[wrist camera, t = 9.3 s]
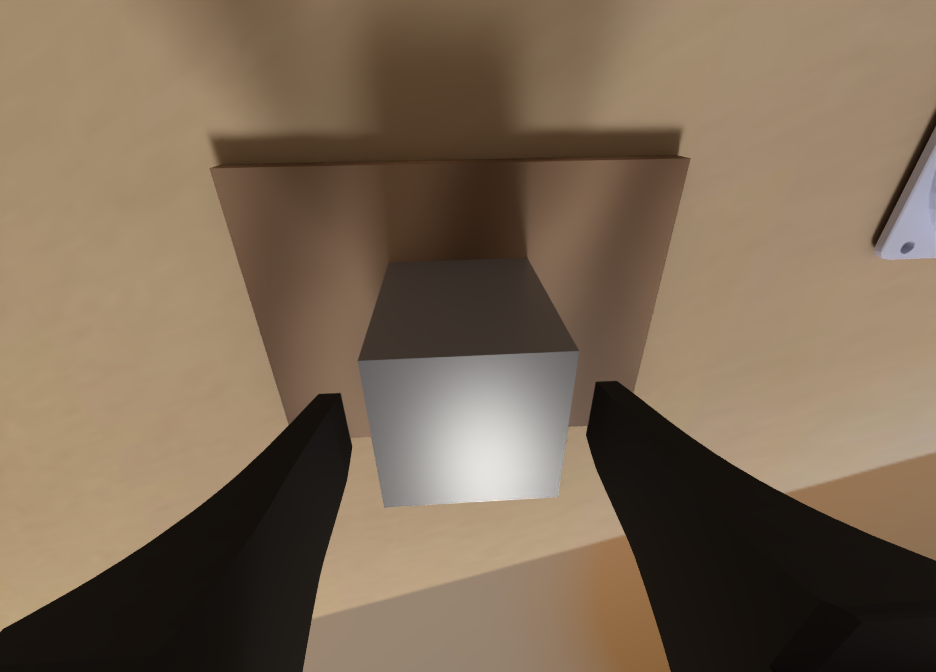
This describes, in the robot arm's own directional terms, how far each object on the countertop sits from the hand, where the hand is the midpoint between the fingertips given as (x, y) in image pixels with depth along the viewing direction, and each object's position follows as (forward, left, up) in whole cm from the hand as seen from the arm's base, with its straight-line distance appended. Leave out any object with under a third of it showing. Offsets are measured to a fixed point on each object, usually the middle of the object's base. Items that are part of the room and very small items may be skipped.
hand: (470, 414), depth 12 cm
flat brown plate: (0, 0, -6) cm, 6 cm away
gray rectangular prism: (0, 0, -6) cm, 6 cm away
